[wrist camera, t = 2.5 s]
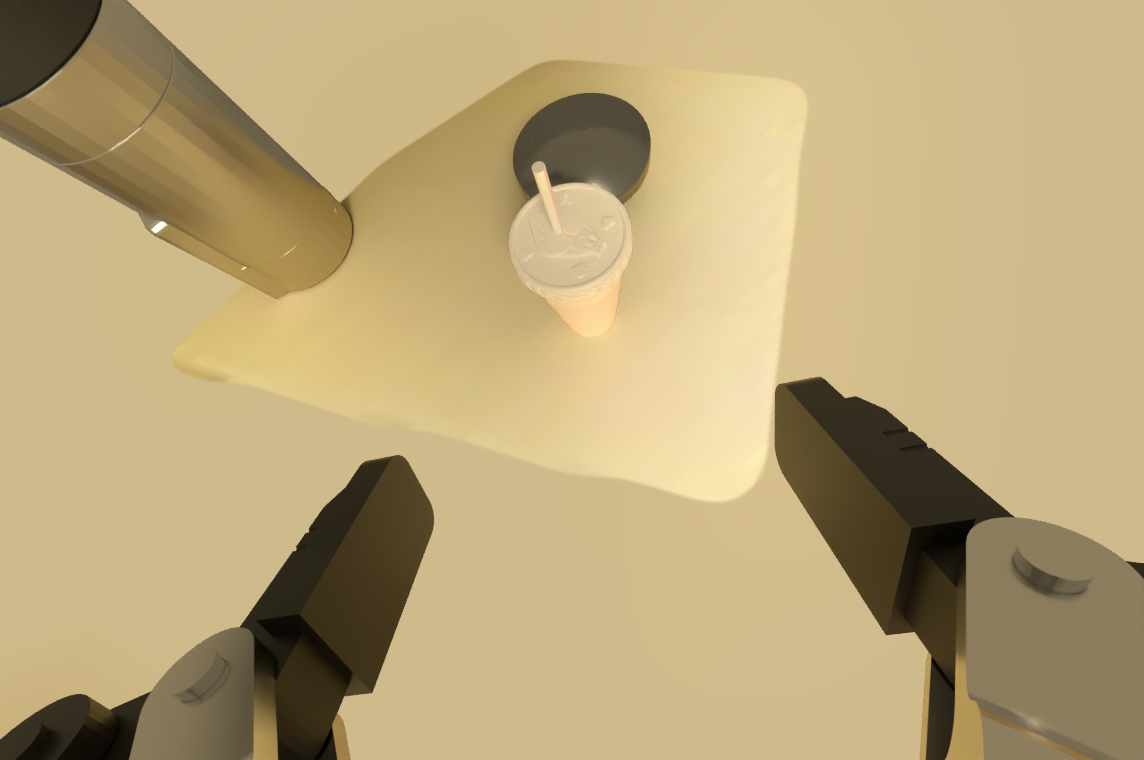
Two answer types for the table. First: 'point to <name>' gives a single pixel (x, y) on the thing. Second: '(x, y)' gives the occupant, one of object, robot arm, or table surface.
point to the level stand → (585, 145)
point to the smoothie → (573, 250)
